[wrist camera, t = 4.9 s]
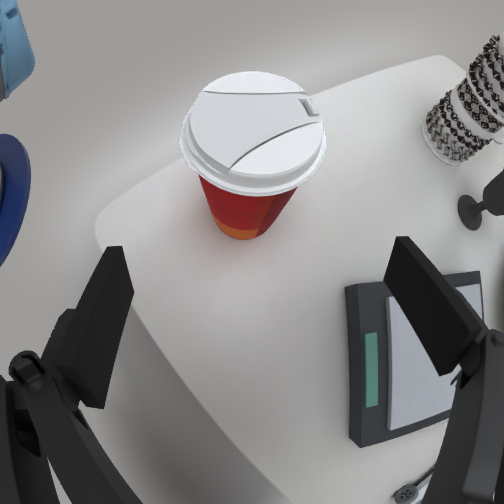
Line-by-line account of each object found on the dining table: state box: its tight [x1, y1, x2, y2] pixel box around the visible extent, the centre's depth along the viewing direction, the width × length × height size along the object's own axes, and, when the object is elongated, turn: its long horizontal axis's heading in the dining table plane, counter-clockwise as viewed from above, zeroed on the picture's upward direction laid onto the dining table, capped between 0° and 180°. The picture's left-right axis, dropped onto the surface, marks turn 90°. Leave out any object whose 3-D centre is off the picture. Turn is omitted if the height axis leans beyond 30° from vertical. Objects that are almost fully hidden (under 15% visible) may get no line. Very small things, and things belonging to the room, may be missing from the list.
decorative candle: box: [421, 31, 504, 166], centre depth 21 cm, size 9×9×25 cm
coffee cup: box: [179, 71, 326, 240], centre depth 22 cm, size 8×8×15 cm
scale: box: [345, 271, 484, 448], centre depth 26 cm, size 17×16×4 cm
